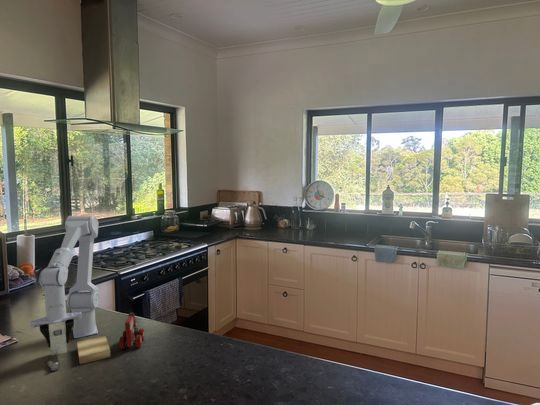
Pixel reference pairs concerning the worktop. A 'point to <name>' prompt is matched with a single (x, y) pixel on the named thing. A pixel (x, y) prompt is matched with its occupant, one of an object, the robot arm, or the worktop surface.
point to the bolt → (53, 365)
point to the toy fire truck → (131, 333)
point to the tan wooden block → (93, 349)
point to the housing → (58, 340)
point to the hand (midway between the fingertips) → (58, 344)
